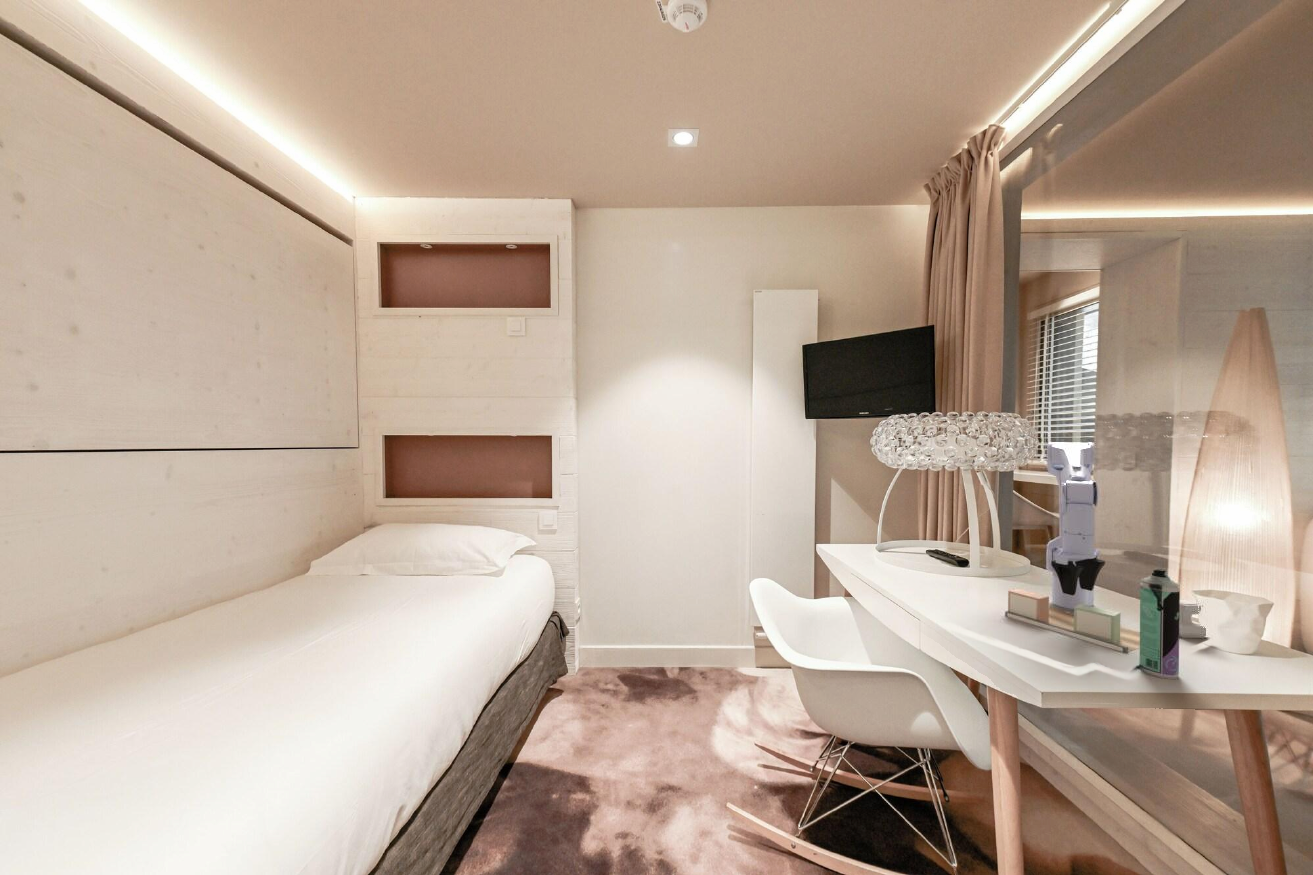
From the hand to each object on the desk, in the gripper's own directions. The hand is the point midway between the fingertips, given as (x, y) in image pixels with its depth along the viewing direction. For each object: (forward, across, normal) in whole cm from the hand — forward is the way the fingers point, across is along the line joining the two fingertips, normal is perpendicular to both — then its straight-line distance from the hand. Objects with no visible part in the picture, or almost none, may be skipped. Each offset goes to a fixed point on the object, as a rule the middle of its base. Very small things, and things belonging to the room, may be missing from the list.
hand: (1077, 591), depth 120 cm
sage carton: (+8, +2, +4) cm, 10 cm away
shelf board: (+10, -2, 0) cm, 10 cm away
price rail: (+10, +6, 0) cm, 11 cm away
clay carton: (+9, +3, -9) cm, 13 cm away
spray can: (+10, +8, +17) cm, 22 cm away
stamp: (+10, -19, +12) cm, 24 cm away
